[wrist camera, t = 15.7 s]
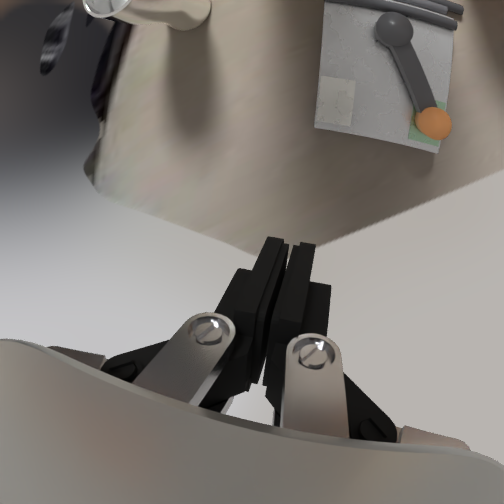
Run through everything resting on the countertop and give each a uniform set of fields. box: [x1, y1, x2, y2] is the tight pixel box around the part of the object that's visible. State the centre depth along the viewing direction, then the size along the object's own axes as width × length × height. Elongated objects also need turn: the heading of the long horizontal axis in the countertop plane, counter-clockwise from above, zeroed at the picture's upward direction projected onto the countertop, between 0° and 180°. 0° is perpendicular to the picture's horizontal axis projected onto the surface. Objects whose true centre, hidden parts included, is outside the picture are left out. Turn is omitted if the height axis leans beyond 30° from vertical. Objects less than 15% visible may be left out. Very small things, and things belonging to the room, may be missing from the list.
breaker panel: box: [314, 0, 454, 154], centre depth 27 cm, size 16×14×2 cm
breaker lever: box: [374, 12, 452, 140], centre depth 24 cm, size 13×4×3 cm, turn 27°
